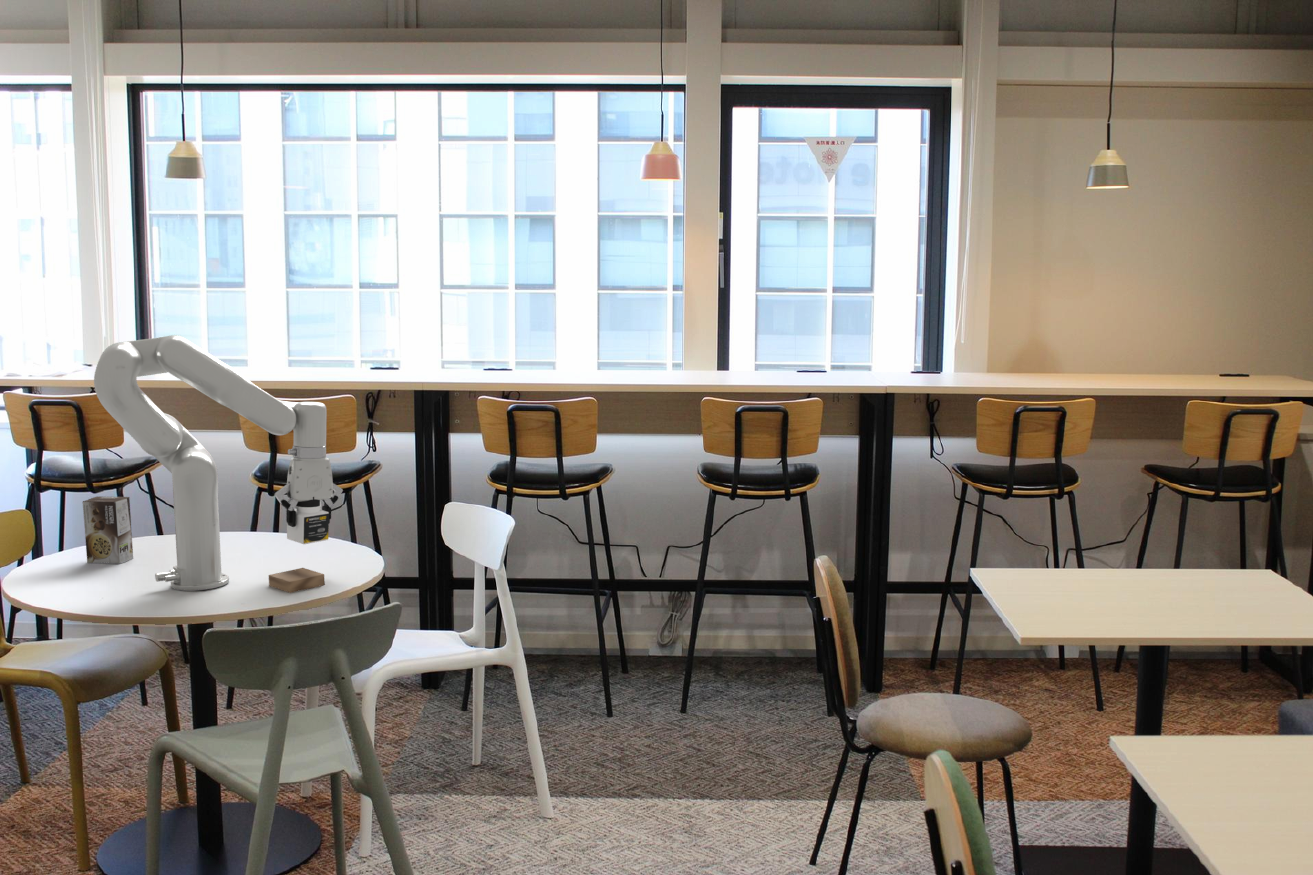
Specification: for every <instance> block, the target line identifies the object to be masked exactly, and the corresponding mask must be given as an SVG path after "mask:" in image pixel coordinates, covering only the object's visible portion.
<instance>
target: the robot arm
mask: <svg viewBox="0 0 1313 875" xmlns="http://www.w3.org/2000/svg"><path fill="white" fill-rule="evenodd" d="M167 373H169V374H170V375H172V376H174V377H176V378H177V379H178V380H180V381H181V382H184V383H185V384H187V385H189V386H190V387H192V388H194V389H195V390H197V391H199V392H201V394H203V395H205V396H207V397H208V398H210V399H211V400H213V401H215V402H216V403H218V404H219V405H221V406H224V407H225V408H228V409H230V410H231V411H233V412H235V413H236V414H238V415H240V416H242V417H243V418H245V419H247V421H250V422H251V423H253V424H255V425H256V426H258V427H260V428H261V429H262V430H265V431H266V432H268V433H269V434H272V435H275V436H284V435H287V434H289V433H291V432H292V431H293V445H292V448H289V449H288V450H287V454H288V456H292V458H290V462H289V466H288V471H287V476H286V478H287V480H286V484H285V485H284V486H283V487H281V488H280V489H279V490H277V491H276V492H275V493H274V497H275V498H276V499H277V501H278V502H279V504H280V505H281V506H282V507H284V509H286V510H285V512H286V513H285V514H286V515H285V516H286V519H285V520H286V524H287V523H288V525H289V526H291V527H295V526H296V511H295V509H296V508H295V506H296V505H297V503H298V501H308V500H313V497H314V499H317V500H321V503H323V505H321V510H323V511H327V512H329V524H330V523H331V519H332V508H333V507H334V504H335V503H336V502H337V501H338V500H339V497H340V496H341V494H342V493H343V491H344V490H343V488H341V487H340V486H338V485H337V484H336V483H334V482H333V481H334V480H333V472H332V465H331V464H332V463H331V461H330V458H328V457H327V417H328V416H327V406H326V405H325V403H323V402H321V401H300V402H295V401H287V400H286V401H285V400H280V399H278V398H276V397H275V396H273V395H272V394H270V393H268V392H267V391H265V390H263V388H260V387H259V386H257V385H255V383H253V382H252V381H250V380H249V379H247V377H245V376H244V375H243V374H242V373H241V372H239V371H238V370H236V369H235V368H234V367H233V366H231V365H229V364H226V363H225V362H224V361H222V360H220V359H219V358H217V357H216V356H214V355H213V354H211V353H210V352H207V351H206V350H204V349H203V348H202V347H200V346H198V345H197V344H195V343H193V342H191V341H190V340H189V339H187V338H185V337H184V336H182V335H177V334H176V335H175V334H174V335H173V334H172V335H166V336H165V335H164V336H162V337H159V336H158V337H153V338H145V339H138V340H137V339H136V340H128V341H121V342H119V341H118V342H115V343H112V344H110V345H109V346H107V347H106V348H105V349H104V350H103V352H102V353H101V355H100V357H99V359H98V362H97V364H96V367H95V371H94V376H93V385H94V391H95V394H96V396H97V397H96V398H97V399H98V401H99V402H100V404H101V406H102V407H103V408H104V409H105V411H106V412H107V413H108V414H109V415H110V416H111V417H112V418H113V420H115V421H116V422H117V423H118V424H119V425H120V426H121V428H123V430H125V432H126V433H128V435H129V436H130V437H131V438H132V439H133V440H134V441H135V442H137V444H138V445H139V447H140V448H141V449H142V450H143V451H144V452H145V453H147V454H148V455H149V456H152V457H154V458H155V459H156V460H157V461H158V462H159V463H160V464H161V465H163V467H164V468H165V469H166V470H167V471H169V473H170V474H171V479H172V492H173V514H174V517H173V518H174V530H175V531H174V532H175V549H176V550H175V551H176V552H175V553H176V565H173V567H172V569H169V571H167V572H164V571H163V572H158V573H155V575H154V579H155V581H156V582H164V583H165V582H166V583H168V582H170V587H171V588H172V589H174V590H176V591H185V592H186V591H187V592H188V591H189V592H192V591H195V592H197V591H204V590H205V591H206V590H211V589H216V588H220V587H223V586H225V585H227V584H228V583H229V582H230V578H229V575H228V574H226V573H222V557H221V555H222V554H221V535H220V534H221V533H220V531H221V530H220V515H219V511H220V510H219V473H218V466H217V464H216V462H215V459H214V458H213V456H212V455H211V453H210V451H208V450H207V449H206V448H205V446H203V444H201V443H200V441H198V440H197V438H196V437H195V436H193V434H191V433H190V431H189V430H188V429H187V428H186V427H184V426H183V424H182V423H181V422H180V421H179V420H178V419H176V418H175V417H174V416H173V415H170V414H168V413H166V412H163V410H162V409H160V407H159V406H157V405H156V404H155V402H153V400H152V399H151V398H150V397H149V396H148V395H147V394H146V393H145V392H144V391H143V390H142V389H141V387H140V386H139V384H138V380H137V379H138V378H140V377H145V376H147V377H148V376H153V375H154V376H155V375H159V374H160V375H161V374H167ZM285 495H286V497H287V498H288V500H286V499H285V497H284V496H285Z"/></svg>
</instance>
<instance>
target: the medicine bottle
mask: <svg viewBox="0 0 1313 875" xmlns="http://www.w3.org/2000/svg"><path fill="white" fill-rule="evenodd" d="M294 510H295V511H296V526H295V527H291V526H289V525H288V523H287V522H286V539H287V540H290V541H293V542H295V543H299V544H302V545H309V544H313V543H319V542H324V541H325V542H326V541H329V530H330V529H329V525H330V523H329V512H327V511H323V510H322V500H317V499H314V497H313V500H308V501H298V503H297V505H296V506H295V508H294Z"/></svg>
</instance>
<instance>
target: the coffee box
mask: <svg viewBox="0 0 1313 875" xmlns="http://www.w3.org/2000/svg"><path fill="white" fill-rule="evenodd" d="M130 500H131V498H130V496H94V497H91V498H88V499H86V500H83V501H82V512H83V524H84V535H85V536H84V539H85V548H86V549H85V551H86V563H87V564H113V565H114V564H117V565H118V564H119V565H120V564H122V563H125V562H128V561H130V560H133V559H134V550H133V548H134V547H133V534H132V519H131V518H132V516H131V502H130Z"/></svg>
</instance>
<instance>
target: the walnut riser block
mask: <svg viewBox="0 0 1313 875" xmlns="http://www.w3.org/2000/svg"><path fill="white" fill-rule="evenodd" d="M325 583H326V582H325V574H324V573H322V572H318V571H315V570H312V569H309V568H305V567H300V568H296V569H290V570H286V571H281V572H276V573H272V574H268V586H269V587H271V588H275V589H277V590H280V591H284V592H286V593H289V594H291V593H296V592H300V591H305V590H309V589H313V588H317V587H321V586H325Z"/></svg>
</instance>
